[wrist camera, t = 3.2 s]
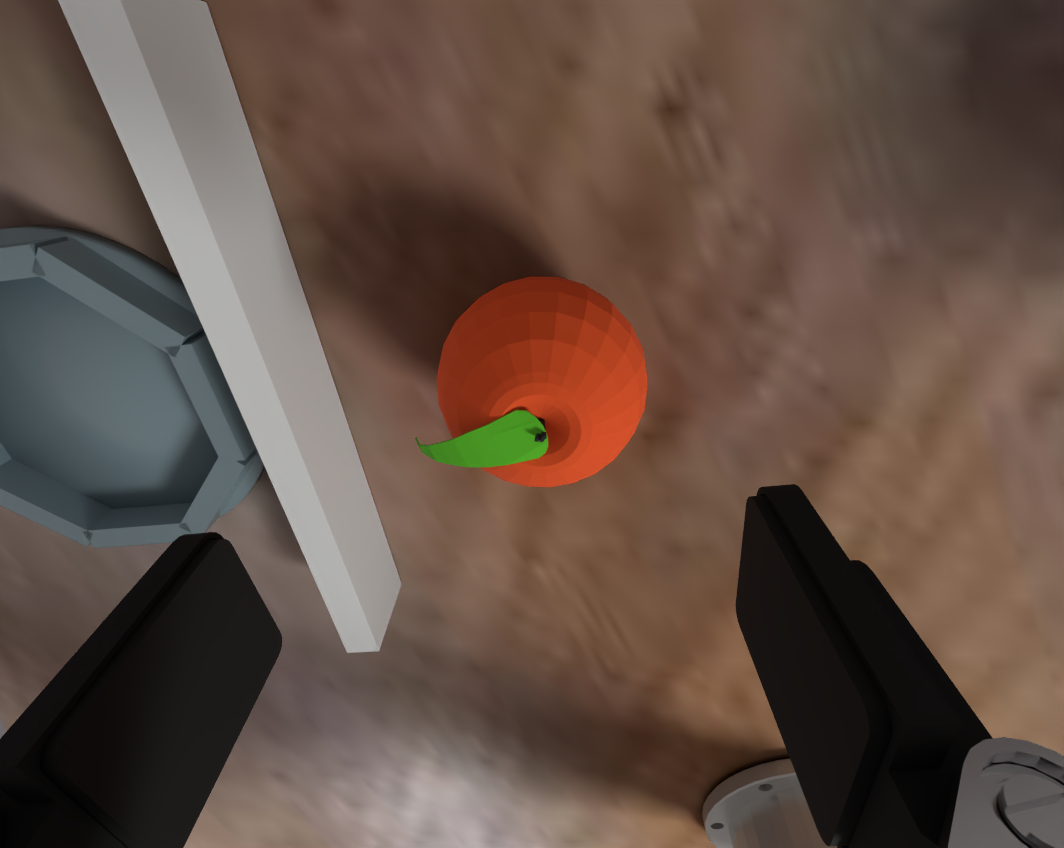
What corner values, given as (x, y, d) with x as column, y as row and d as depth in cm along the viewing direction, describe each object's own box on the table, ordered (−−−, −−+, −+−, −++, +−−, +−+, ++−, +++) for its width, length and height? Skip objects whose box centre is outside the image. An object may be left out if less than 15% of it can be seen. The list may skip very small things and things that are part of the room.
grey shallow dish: (190, 202, 18) (145, 211, 16) (314, 509, 25) (294, 542, 23) (-150, 249, 20) (-230, 262, 18) (54, 529, 26) (13, 562, 24)
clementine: (476, 451, 23) (447, 569, 17) (399, 306, 20) (330, 385, 14) (653, 392, 21) (695, 499, 15) (600, 225, 18) (624, 272, 12)
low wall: (206, 2, 16) (106, -36, 12) (401, 584, 27) (379, 651, 24) (159, 10, 16) (47, -25, 12) (373, 586, 27) (347, 652, 24)
